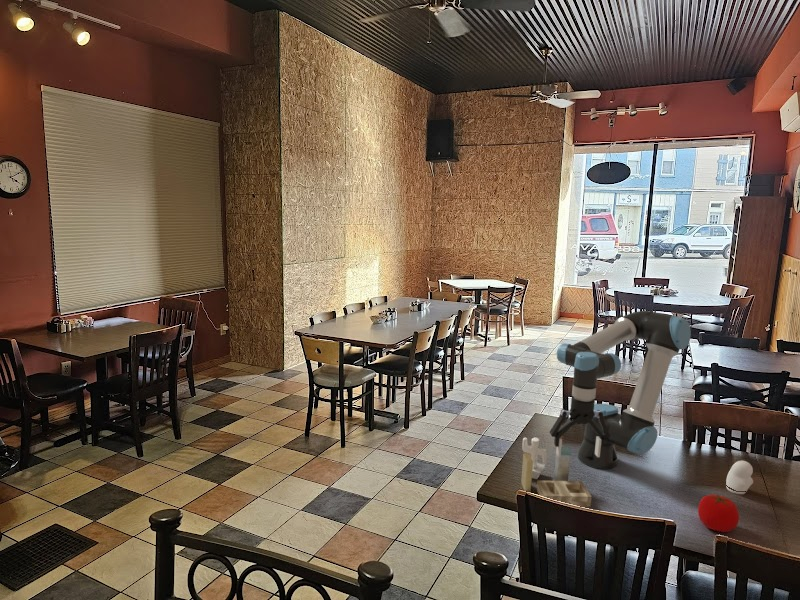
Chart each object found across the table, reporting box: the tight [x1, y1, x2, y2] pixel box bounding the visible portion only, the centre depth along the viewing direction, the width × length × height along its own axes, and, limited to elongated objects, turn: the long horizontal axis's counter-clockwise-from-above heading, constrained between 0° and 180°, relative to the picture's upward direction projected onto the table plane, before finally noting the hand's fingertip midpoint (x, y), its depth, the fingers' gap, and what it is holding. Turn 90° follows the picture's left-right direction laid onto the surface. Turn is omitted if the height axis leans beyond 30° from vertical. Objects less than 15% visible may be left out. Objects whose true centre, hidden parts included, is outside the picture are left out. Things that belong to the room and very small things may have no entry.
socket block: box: [536, 479, 592, 508], centre depth 186 cm, size 16×10×4 cm, turn 90°
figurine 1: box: [521, 436, 548, 480], centre depth 201 cm, size 7×9×15 cm
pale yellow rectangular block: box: [520, 452, 533, 493], centre depth 192 cm, size 2×6×12 cm, turn 0°
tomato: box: [697, 494, 740, 533], centre depth 172 cm, size 11×12×10 cm
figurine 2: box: [725, 460, 754, 495], centre depth 194 cm, size 7×8×12 cm
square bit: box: [553, 446, 572, 481], centre depth 195 cm, size 4×4×14 cm
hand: (577, 455), depth 184 cm, fingers open, 13 cm apart
